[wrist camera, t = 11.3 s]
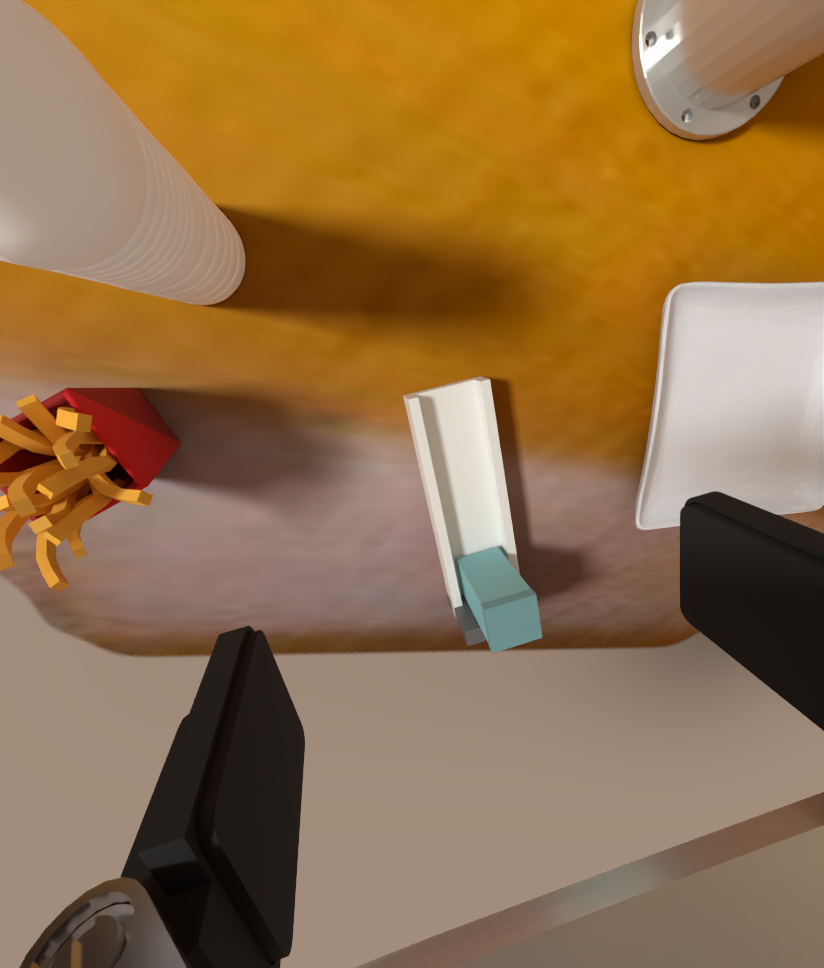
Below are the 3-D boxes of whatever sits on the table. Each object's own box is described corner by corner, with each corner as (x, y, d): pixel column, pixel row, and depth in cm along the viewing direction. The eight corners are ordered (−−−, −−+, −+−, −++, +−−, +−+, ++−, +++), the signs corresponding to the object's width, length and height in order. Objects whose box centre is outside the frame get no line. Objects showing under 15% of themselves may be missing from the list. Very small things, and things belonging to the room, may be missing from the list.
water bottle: (261, 235, 31) (43, -78, 7) (226, 322, 32) (-53, 289, 9) (128, 158, 28) (-841, -689, 5) (96, 257, 30) (-785, -37, 6)
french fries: (60, 414, 32) (-148, 475, 18) (159, 359, 32) (26, 377, 18) (142, 510, 35) (18, 625, 21) (232, 460, 35) (167, 542, 21)
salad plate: (853, 282, 40) (899, 277, 37) (794, 499, 47) (828, 512, 44) (643, 286, 37) (672, 281, 34) (613, 519, 44) (635, 533, 41)
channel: (479, 376, 37) (506, 383, 31) (513, 586, 44) (540, 623, 38) (403, 395, 36) (416, 406, 30) (450, 605, 43) (468, 645, 38)
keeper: (497, 545, 41) (536, 594, 33) (504, 583, 42) (542, 637, 34) (455, 558, 40) (484, 609, 33) (463, 595, 42) (492, 653, 34)
